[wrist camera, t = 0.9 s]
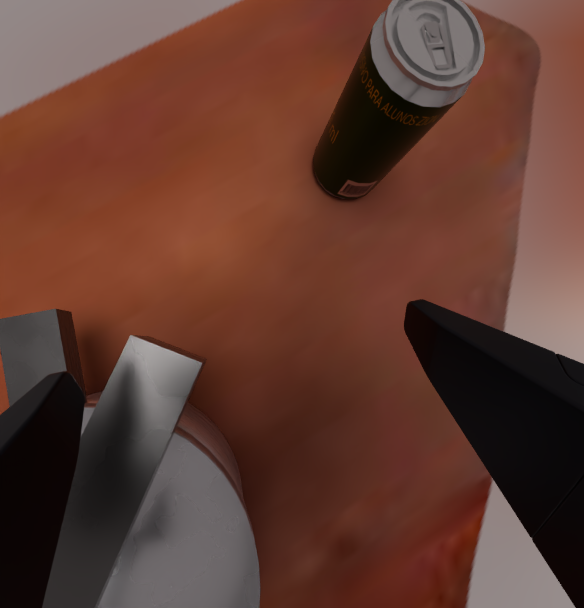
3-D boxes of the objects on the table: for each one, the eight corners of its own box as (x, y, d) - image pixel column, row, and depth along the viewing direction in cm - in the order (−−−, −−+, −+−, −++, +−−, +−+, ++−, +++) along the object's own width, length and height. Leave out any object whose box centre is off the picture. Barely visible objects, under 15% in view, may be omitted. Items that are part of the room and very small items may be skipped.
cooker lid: (167, 858, 14) (142, 1081, 9) (-277, 781, 11) (-557, 1028, 7) (330, 406, 17) (364, 426, 13) (11, 280, 15) (-70, 256, 11)
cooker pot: (263, 589, 22) (281, 699, 15) (2, 692, 19) (-123, 890, 12) (203, 299, 23) (195, 282, 17) (-50, 349, 20) (-190, 352, 13)
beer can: (382, 197, 27) (503, 86, 15) (320, 208, 26) (399, 97, 14) (365, 134, 27) (470, -21, 16) (302, 142, 26) (366, -19, 15)
